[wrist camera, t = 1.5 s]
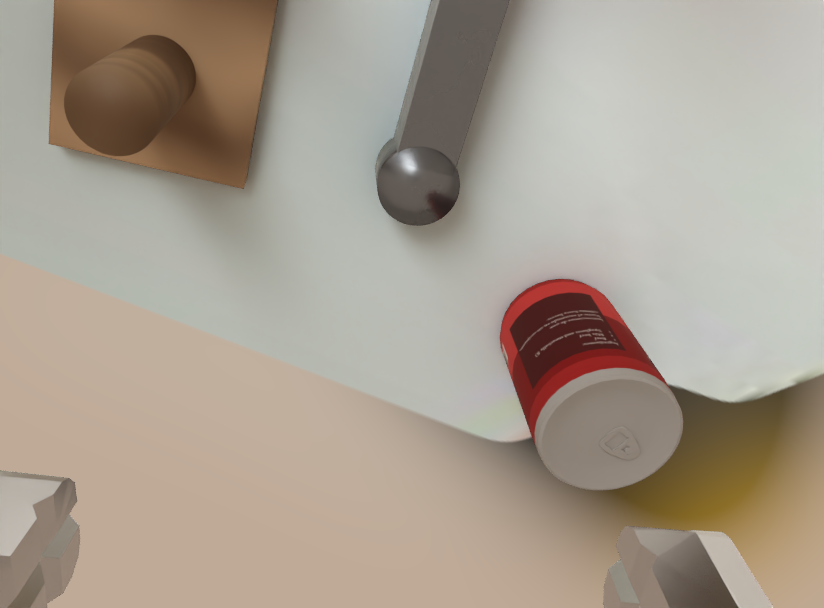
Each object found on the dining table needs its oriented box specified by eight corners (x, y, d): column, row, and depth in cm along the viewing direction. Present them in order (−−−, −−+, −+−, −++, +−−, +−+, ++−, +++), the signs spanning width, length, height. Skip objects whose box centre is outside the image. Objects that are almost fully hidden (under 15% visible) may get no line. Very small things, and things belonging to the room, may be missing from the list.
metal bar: (478, -226, 31) (490, -239, 28) (568, -192, 32) (588, -202, 29) (367, 195, 40) (368, 215, 37) (439, 213, 41) (445, 233, 38)
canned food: (572, 391, 48) (628, 508, 39) (474, 350, 46) (508, 464, 36) (638, 304, 45) (716, 408, 36) (536, 255, 43) (591, 353, 33)
